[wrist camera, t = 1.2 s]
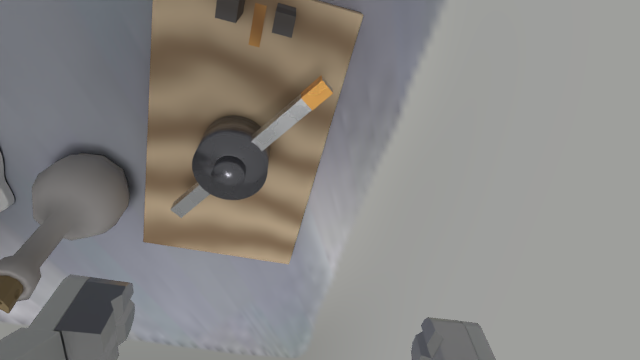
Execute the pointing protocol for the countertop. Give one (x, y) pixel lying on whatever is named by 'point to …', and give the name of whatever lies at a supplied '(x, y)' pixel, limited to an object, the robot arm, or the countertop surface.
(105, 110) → the countertop surface
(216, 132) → the capstan
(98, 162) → the potion bottle
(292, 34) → the stand
